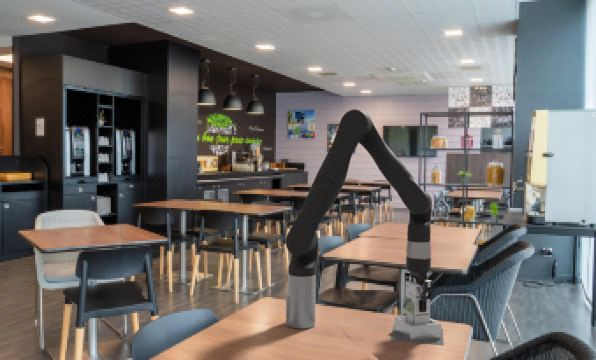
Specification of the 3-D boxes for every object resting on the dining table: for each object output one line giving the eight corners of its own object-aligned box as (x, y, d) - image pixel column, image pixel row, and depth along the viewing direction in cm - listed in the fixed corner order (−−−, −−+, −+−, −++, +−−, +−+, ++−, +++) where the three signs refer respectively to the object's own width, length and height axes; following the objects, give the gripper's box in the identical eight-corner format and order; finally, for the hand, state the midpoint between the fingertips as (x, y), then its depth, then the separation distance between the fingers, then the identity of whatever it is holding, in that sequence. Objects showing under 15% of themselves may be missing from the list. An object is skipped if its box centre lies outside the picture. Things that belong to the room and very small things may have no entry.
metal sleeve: (410, 341, 158) (410, 326, 158) (394, 330, 168) (394, 316, 168) (440, 338, 161) (441, 323, 161) (423, 327, 171) (424, 314, 171)
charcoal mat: (390, 344, 159) (390, 340, 159) (393, 328, 174) (393, 324, 174) (443, 349, 155) (443, 345, 155) (442, 332, 170) (442, 328, 170)
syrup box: (430, 330, 163) (431, 283, 162) (413, 331, 161) (414, 284, 160) (420, 324, 168) (421, 279, 168) (404, 326, 166) (405, 280, 166)
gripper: (397, 251, 169) (396, 303, 170) (419, 260, 156) (418, 316, 156) (418, 250, 172) (417, 302, 172) (441, 259, 158) (440, 314, 158)
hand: (417, 308), depth 164 cm, fingers closed on syrup box, 6 cm apart
